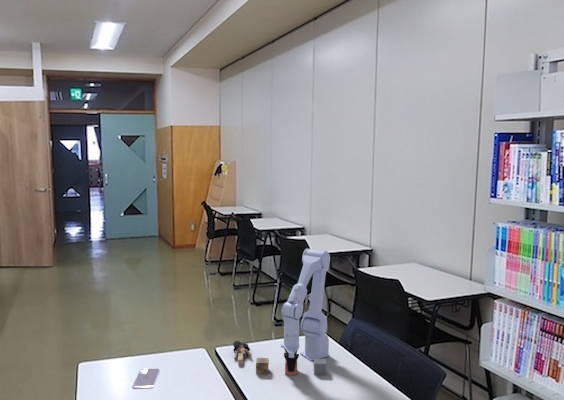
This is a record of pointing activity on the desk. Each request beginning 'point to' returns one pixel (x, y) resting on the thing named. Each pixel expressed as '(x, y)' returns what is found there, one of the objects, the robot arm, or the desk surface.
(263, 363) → the walnut block
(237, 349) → the toy figure
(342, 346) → the desk surface
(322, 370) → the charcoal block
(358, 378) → the desk surface
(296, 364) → the red block
